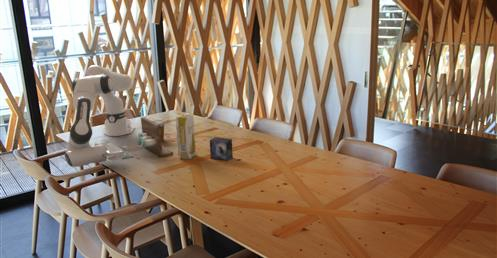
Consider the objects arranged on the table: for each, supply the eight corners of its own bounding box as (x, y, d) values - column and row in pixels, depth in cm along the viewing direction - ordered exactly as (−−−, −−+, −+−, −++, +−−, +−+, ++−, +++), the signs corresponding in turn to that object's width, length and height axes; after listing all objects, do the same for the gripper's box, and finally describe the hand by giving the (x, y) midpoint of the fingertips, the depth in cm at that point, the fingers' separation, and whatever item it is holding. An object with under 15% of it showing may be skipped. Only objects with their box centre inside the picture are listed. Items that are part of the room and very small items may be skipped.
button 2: (144, 149, 224) (144, 141, 222) (141, 147, 227) (141, 139, 226) (158, 146, 228) (157, 138, 227) (155, 144, 231) (154, 136, 230)
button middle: (140, 145, 229) (139, 138, 228) (137, 144, 233) (136, 136, 231) (153, 143, 233) (152, 135, 232) (150, 141, 237) (149, 133, 236)
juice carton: (191, 159, 222) (188, 115, 216) (177, 159, 224) (173, 115, 217) (197, 154, 231) (194, 111, 224) (183, 153, 232) (180, 111, 226)
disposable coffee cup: (168, 138, 262) (166, 120, 258) (163, 143, 252) (162, 124, 249) (153, 138, 263) (151, 120, 259) (148, 143, 253) (146, 124, 250)
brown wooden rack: (159, 157, 227) (156, 125, 222) (143, 147, 245) (140, 117, 240) (173, 154, 231) (170, 123, 226) (156, 145, 250) (154, 115, 245)
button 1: (141, 141, 237) (141, 134, 235) (139, 140, 240) (138, 132, 239) (154, 139, 241) (154, 131, 240) (151, 137, 244) (151, 130, 243)
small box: (209, 158, 223) (208, 139, 220) (216, 155, 229) (215, 136, 226) (227, 161, 218) (226, 142, 215) (233, 157, 224) (232, 138, 221)
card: (122, 159, 226) (122, 157, 226) (115, 153, 236) (115, 152, 236) (133, 156, 230) (133, 155, 229) (126, 151, 239) (125, 150, 239)
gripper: (105, 152, 204) (133, 146, 211) (94, 142, 220) (120, 137, 227) (107, 164, 205) (134, 158, 213) (95, 154, 222) (121, 148, 229)
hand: (127, 147), depth 220 cm, fingers closed
